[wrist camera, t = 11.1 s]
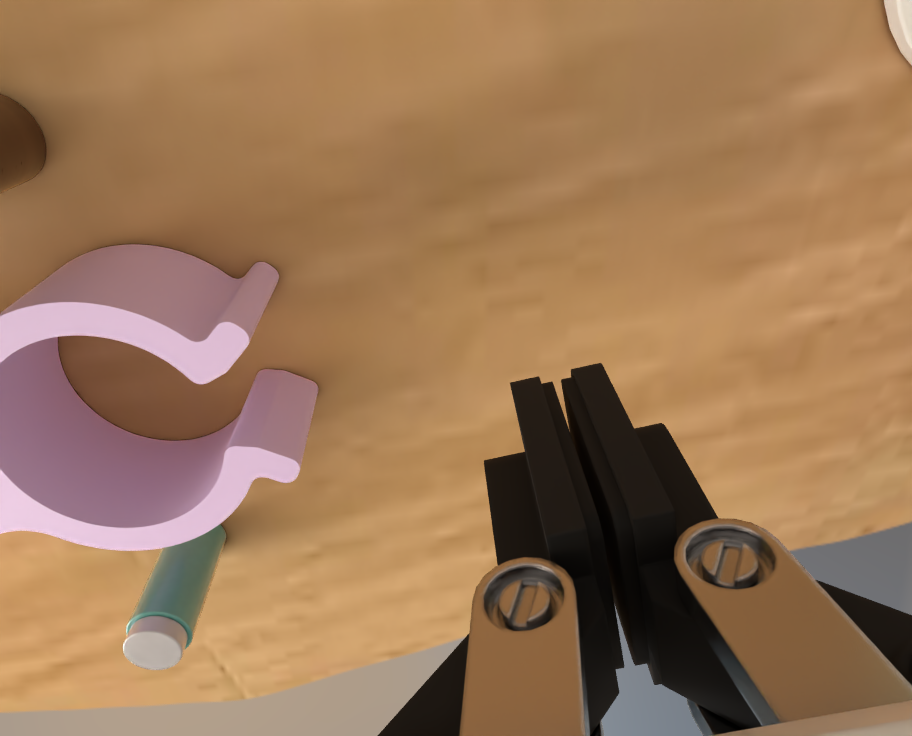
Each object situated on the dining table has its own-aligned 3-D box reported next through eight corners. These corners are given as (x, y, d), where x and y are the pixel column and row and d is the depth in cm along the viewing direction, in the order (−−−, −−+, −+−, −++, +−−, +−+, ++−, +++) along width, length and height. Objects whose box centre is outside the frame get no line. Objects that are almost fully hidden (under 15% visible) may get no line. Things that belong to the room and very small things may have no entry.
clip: (-12, 502, 38) (-92, 598, 31) (-151, 302, 32) (-284, 373, 26) (333, 432, 37) (319, 516, 31) (257, 214, 31) (220, 265, 25)
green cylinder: (215, 509, 39) (171, 623, 32) (234, 549, 40) (196, 666, 33) (162, 519, 39) (106, 635, 32) (183, 558, 40) (134, 678, 33)
